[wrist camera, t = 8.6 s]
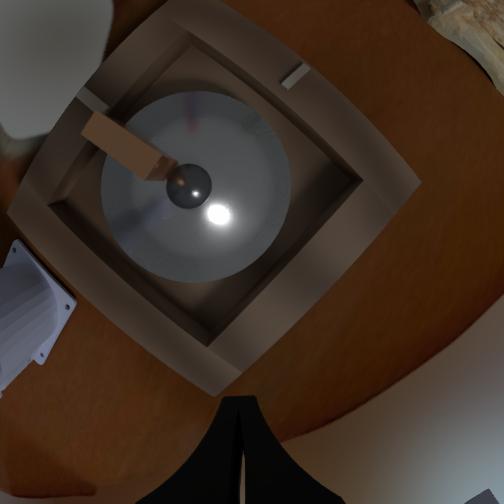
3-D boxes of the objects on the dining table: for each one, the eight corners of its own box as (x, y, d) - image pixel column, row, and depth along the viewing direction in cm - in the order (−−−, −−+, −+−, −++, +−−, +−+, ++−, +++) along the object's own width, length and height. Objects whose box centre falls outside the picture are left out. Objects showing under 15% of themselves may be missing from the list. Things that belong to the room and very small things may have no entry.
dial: (320, 169, 18) (349, 164, 13) (216, 304, 20) (209, 343, 15) (176, 68, 16) (156, 33, 11) (82, 205, 18) (38, 214, 13)
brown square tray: (217, 370, 22) (213, 399, 19) (32, 207, 19) (4, 213, 15) (396, 181, 20) (423, 182, 16) (195, 8, 16) (188, -19, 13)
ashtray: (514, 155, 20) (549, 156, 15) (353, -31, 16) (372, -61, 11) (549, 60, 17) (571, 55, 12) (438, -69, 12) (454, -85, 8)
